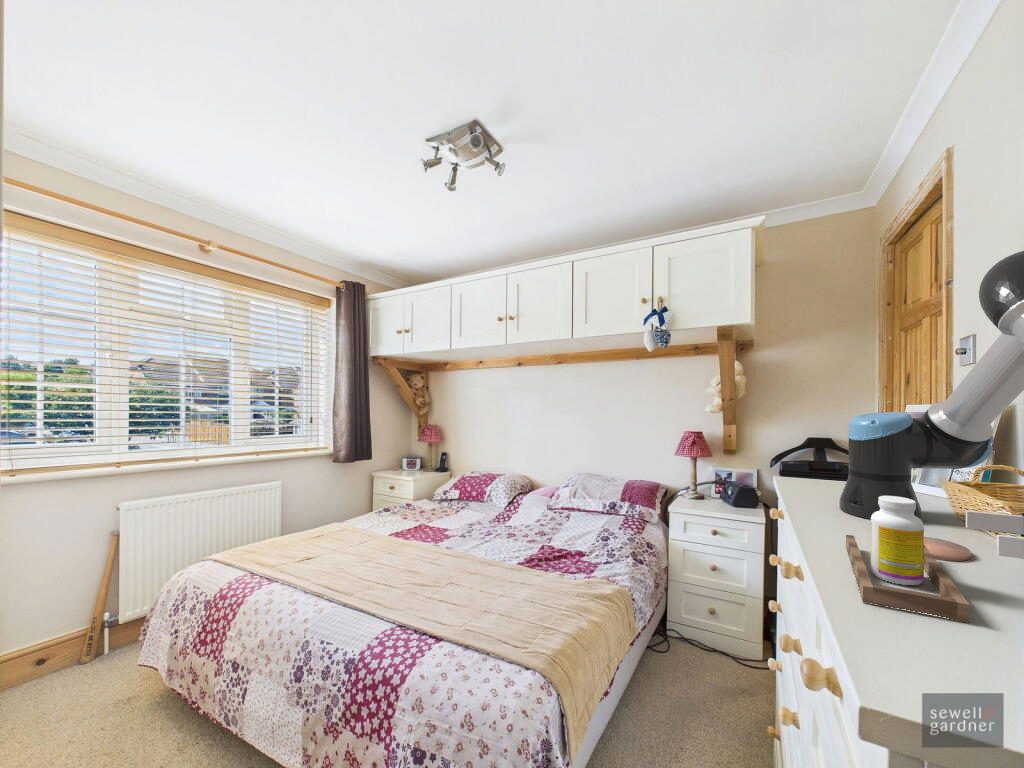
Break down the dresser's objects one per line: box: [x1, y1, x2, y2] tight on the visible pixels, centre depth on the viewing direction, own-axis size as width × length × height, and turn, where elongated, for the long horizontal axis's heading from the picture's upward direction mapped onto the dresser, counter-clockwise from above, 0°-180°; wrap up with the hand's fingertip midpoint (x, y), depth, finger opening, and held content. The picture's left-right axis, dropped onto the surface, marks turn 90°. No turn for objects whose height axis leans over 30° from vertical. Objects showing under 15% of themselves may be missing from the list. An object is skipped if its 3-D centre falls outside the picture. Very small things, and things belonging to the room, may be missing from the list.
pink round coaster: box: [924, 536, 971, 562], centre depth 88 cm, size 10×10×1 cm
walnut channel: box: [845, 534, 971, 624], centre depth 76 cm, size 25×11×2 cm, turn 149°
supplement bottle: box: [870, 496, 925, 586], centre depth 76 cm, size 7×7×13 cm
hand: (980, 530), depth 71 cm, fingers open, 13 cm apart
